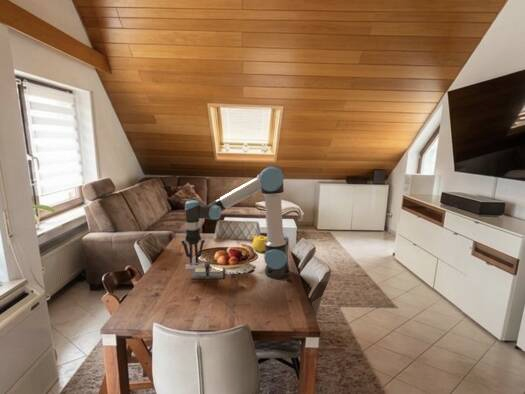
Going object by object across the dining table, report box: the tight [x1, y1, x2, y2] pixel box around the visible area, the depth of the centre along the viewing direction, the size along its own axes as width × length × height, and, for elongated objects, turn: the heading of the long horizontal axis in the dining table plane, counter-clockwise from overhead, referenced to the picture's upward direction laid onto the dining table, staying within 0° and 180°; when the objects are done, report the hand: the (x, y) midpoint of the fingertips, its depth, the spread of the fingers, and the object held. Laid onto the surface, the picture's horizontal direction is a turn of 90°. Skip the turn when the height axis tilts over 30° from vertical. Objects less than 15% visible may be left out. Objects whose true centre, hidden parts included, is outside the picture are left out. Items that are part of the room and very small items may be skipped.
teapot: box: [251, 235, 267, 253], centre depth 218 cm, size 18×11×11 cm, turn 41°
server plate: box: [190, 265, 224, 280], centre depth 180 cm, size 18×14×6 cm
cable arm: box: [184, 262, 211, 270], centre depth 173 cm, size 3×14×2 cm, turn 101°
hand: (194, 267), depth 175 cm, fingers closed
